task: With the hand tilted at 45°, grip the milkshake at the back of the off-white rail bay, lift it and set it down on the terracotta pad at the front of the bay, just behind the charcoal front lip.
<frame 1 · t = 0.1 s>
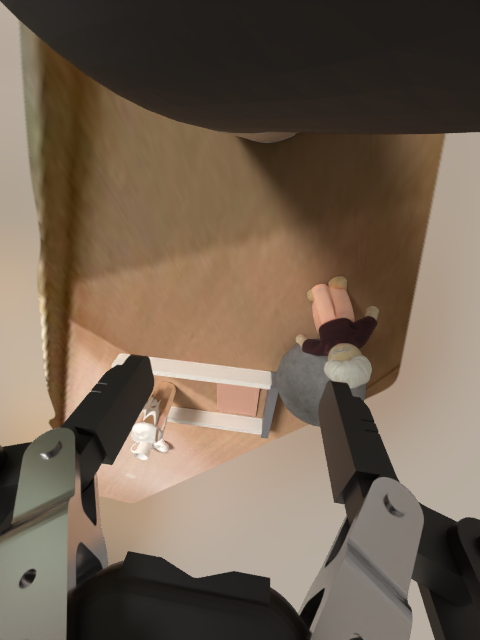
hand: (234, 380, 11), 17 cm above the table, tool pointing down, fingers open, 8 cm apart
grandmother figurine: (322, 293, 27), on the table
milkshake: (169, 385, 41), on the table
bay: (200, 390, 40), on the table
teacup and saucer: (155, 443, 56), on the table
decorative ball: (313, 350, 32), on the table
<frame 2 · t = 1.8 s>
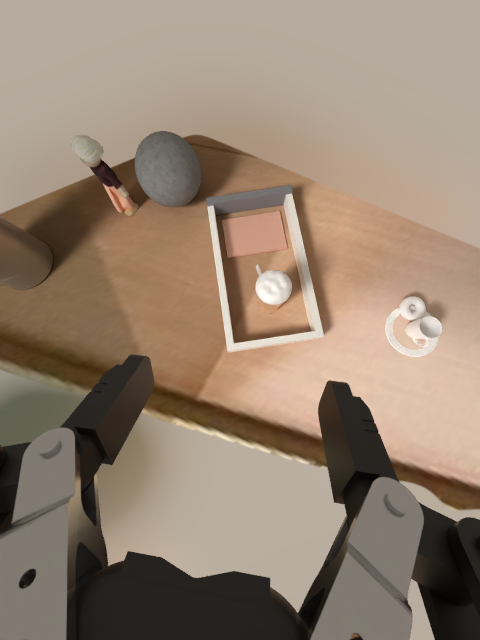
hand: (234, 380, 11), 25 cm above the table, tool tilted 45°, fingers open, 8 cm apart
grandmother figurine: (129, 208, 42), on the table
milkshake: (266, 302, 38), on the table
bay: (260, 270, 39), on the table
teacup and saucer: (425, 322, 37), on the table
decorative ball: (178, 195, 42), on the table
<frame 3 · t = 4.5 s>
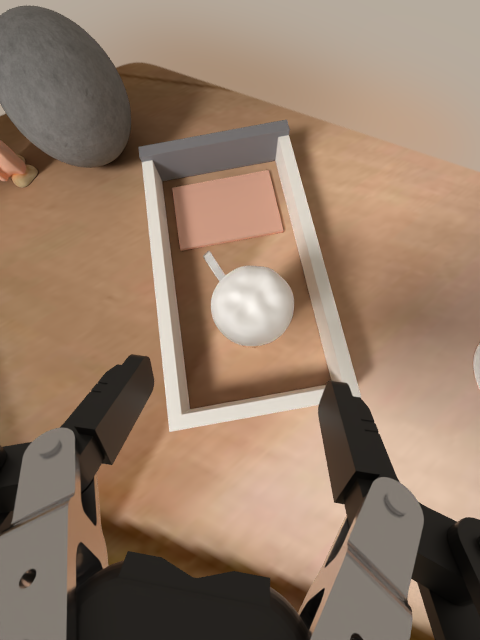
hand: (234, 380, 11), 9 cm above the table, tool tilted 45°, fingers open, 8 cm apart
grandmother figurine: (24, 175, 26), on the table
milkshake: (247, 327, 21), on the table
bay: (237, 270, 22), on the table
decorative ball: (104, 153, 26), on the table
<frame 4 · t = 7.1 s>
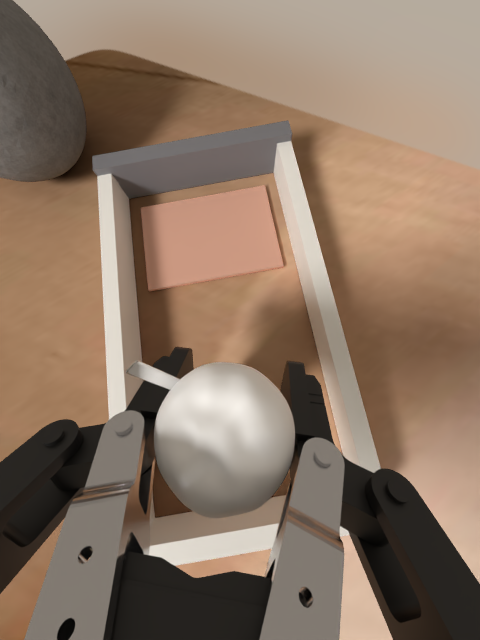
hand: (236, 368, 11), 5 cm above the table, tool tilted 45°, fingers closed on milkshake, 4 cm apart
milkshake: (235, 398, 16), on the table, touching gripper
bay: (222, 318, 17), on the table
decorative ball: (58, 162, 20), on the table
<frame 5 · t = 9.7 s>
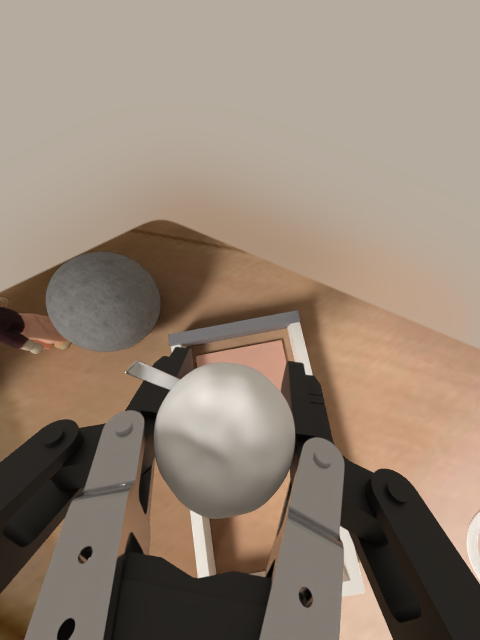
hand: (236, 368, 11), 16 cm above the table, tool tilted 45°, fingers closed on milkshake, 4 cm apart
grandmother figurine: (63, 335, 29), on the table
milkshake: (236, 398, 16), point 11 cm above the table, touching gripper
bay: (255, 440, 25), on the table
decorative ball: (134, 314, 29), on the table
when the fingers open (6 cm above the table, at t = 12.5 s): milkshake stays where it is, resting on bay.
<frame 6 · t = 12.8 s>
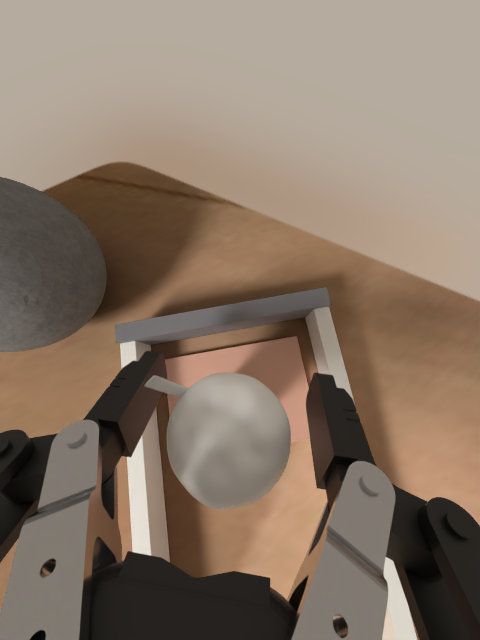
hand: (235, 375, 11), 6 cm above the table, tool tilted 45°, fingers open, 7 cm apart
milkshake: (235, 398, 17), resting on bay
bay: (255, 497, 15), on the table
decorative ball: (74, 296, 19), on the table
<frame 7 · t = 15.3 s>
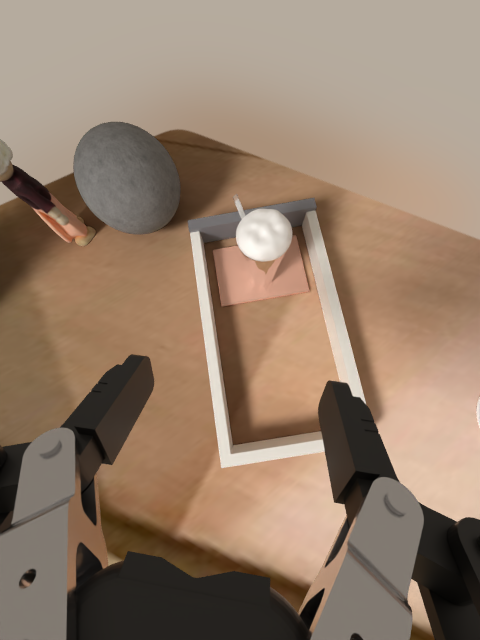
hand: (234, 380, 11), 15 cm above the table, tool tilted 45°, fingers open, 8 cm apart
grandmother figurine: (83, 234, 30), on the table
milkshake: (257, 271, 27), resting on bay
bay: (270, 325, 26), on the table
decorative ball: (152, 215, 30), on the table
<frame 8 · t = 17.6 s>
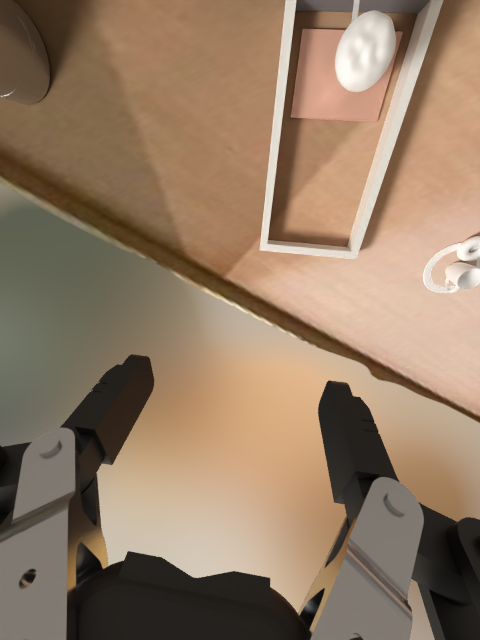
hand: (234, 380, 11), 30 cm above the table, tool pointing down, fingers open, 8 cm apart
milkshake: (339, 80, 26), resting on bay
bay: (326, 150, 30), on the table
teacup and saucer: (474, 263, 35), on the table
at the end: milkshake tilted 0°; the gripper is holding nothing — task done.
